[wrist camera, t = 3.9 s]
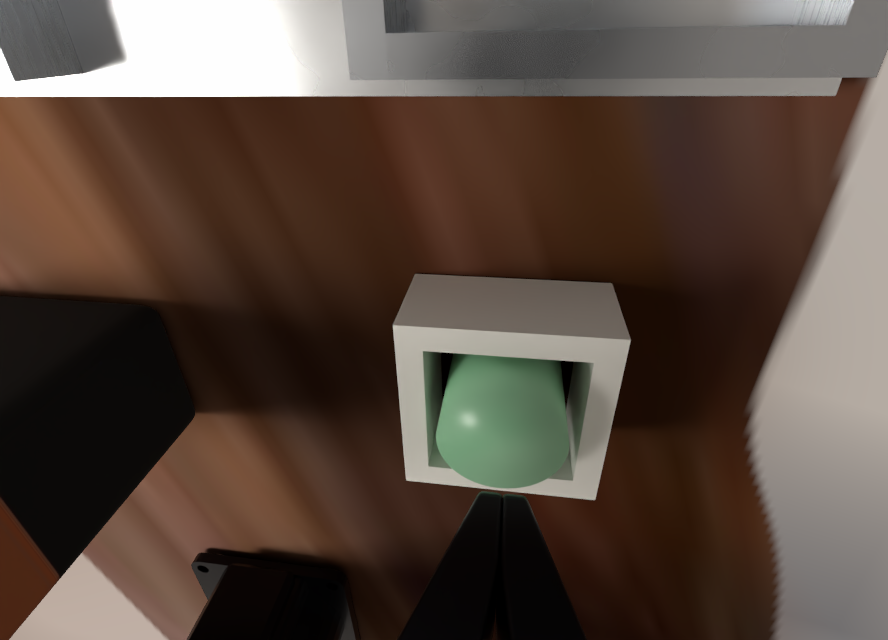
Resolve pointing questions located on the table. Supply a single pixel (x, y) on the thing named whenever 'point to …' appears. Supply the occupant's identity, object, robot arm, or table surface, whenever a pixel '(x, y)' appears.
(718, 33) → the grey metal tray
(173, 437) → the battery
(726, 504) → the table surface
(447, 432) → the button
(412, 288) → the button housing
